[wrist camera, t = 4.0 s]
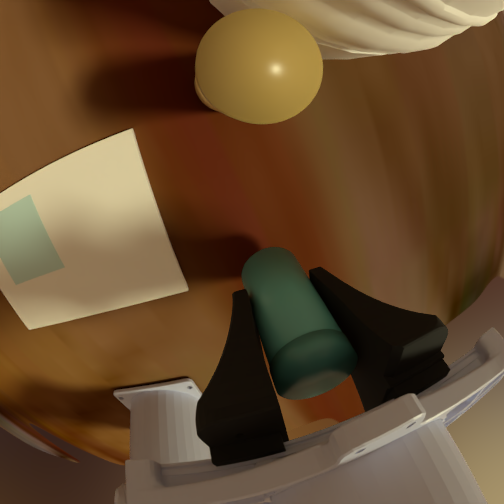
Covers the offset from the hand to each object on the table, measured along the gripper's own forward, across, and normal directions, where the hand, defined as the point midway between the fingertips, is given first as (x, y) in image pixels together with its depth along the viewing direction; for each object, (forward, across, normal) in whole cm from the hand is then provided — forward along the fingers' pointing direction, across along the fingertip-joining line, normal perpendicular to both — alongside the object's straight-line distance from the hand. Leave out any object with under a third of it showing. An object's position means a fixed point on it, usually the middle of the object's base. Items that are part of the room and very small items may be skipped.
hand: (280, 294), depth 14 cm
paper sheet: (+4, +12, -4) cm, 13 cm away
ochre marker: (+4, 0, -10) cm, 11 cm away
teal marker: (+2, 0, 0) cm, 2 cm away
